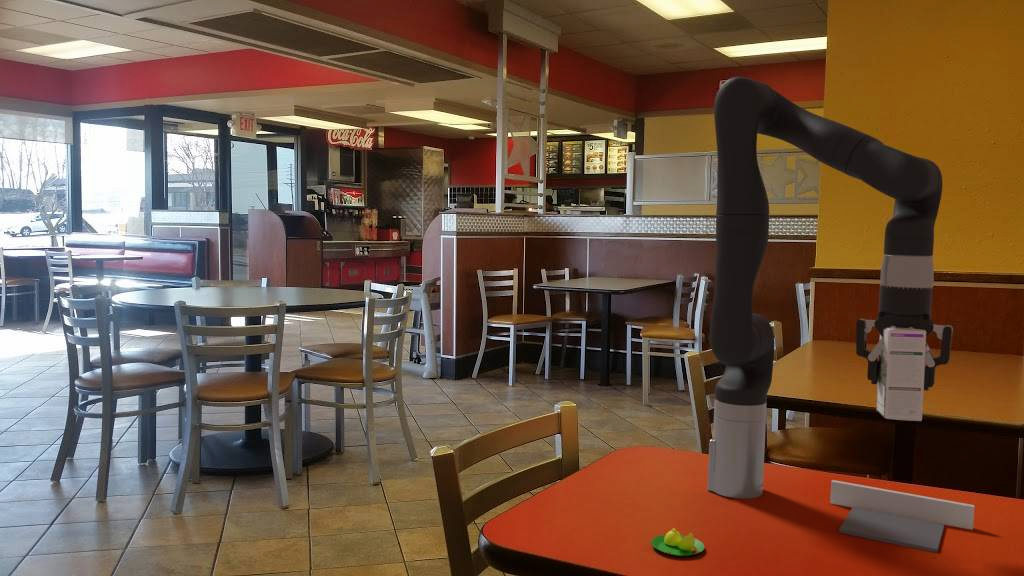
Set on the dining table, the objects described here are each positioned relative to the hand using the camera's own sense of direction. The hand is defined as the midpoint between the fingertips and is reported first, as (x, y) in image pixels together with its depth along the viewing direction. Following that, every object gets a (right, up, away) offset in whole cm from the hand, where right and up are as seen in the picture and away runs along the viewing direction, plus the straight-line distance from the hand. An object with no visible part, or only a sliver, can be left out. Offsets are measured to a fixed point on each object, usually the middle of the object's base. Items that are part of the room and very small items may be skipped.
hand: (900, 386), depth 127 cm
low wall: (+4, -23, +9) cm, 25 cm away
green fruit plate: (-37, -24, -6) cm, 45 cm away
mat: (0, -24, +2) cm, 24 cm away
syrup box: (0, -5, 0) cm, 5 cm away
